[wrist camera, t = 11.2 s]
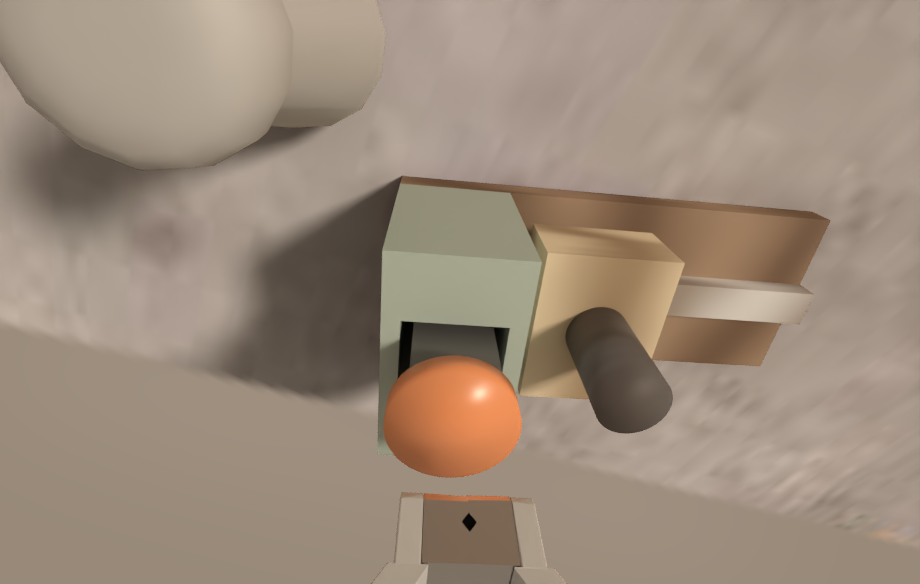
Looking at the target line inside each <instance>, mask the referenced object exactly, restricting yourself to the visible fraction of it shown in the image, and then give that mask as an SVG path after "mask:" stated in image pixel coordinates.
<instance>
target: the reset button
mask: <svg viewBox="0 0 920 584" xmlns="http://www.w3.org/2000/svg"><path fill="white" fill-rule="evenodd" d="M521 427H522V422H521V415H520V410H519V406H518V401H517V396H516V392H515V390H514V388H513V385H512V384H511V382H510V381H509V379H508V378H507V377H506V376H505V375H504V374H503V373H502V369H501V364H500V359H499V353H498V348H497V343H496V337H495V332H494V327H487V326H471V325H456V324H440V323H424V322H414V325H413V336H412V347H411V358H410V368H409V369H408V370H406V371H405V372H404V373H403V374H402V375H401V376H400V377H399V378H398V379H397V380H396V381H395V383H394V384H393V386H392V387H391V389H390V392H389V394H388V398H387V403H386V410H385V416H384V424H383V429H384V436H385V440H386V442H387V445H388V447H389V448H390V450H391V451H392V453H393V454H394V455H395V456H396V457H397V458H398V459H399V460H400V461H401V462H402V463H404V464H406V465H407V466H408V467H410V468H412V469H414V470H416V471H419V472H421V473H424V474H428V475H432V476H437V477H464V476H469V475H474V474H477V473H480V472H483V471H485V470H488V469H490V468H491V467H493V466H495V465H497V464H498V463H500V462H501V461H502V460H503V459H504V458H506V457H507V456H508V455H509V454H510V452H511V451H512V450H513V449H514V447H515V446H516V444H517V442H518V440H519V437H520V433H521Z"/></svg>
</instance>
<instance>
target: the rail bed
mask: <svg viewBox="0 0 920 584" xmlns="http://www.w3.org/2000/svg"><path fill="white" fill-rule="evenodd" d="M400 184H411V185H423V186H435V187H446V188H458V189H469V190H481V191H493V192H504V193H511V196H512V198H513V200H514V202H515V204H516V207H517V209H518V211H519V213H520V215H521V217H522V220H523V222H524V224H525V226H526V228H527V231H528V233H529V235H530V237H531V232H532V227H533V223H535V224H547V225H559V226H572V227H584V228H596V229H609V230H621V231H633V232H645V233H653V234H654V235H655V236H656V237H657V238H658V239H659V240H660V241H661V242H662V243H663V244H665V245H666V246H667V247H668V248H669V249H670V250H671V251H672V252H673V253H674V254H675V255H677V256H678V257H679V258H680V259H681V260H682V261H683V262H684V263H685V265H684V268H683V271H682V273H681V276H680V279H679V282H678V285H677V288H676V291H675V293H674V296H673V299H672V302H671V305H670V308H669V311H668V314H667V316H666V319H665V322H664V325H663V328H662V331H661V334H660V337H659V339H658V342H657V345H656V348H655V351H654V354H653V357H652V360H662V361H679V362H696V363H713V364H730V365H747V366H761V364H762V362H763V360H764V358H765V355H766V353H767V351H768V349H769V347H770V345H771V343H772V341H773V339H774V337H775V335H776V333H777V331H778V328H779V326H780V324H781V323H786V324H800V322H801V320H802V318H803V316H804V314H805V312H806V310H807V308H808V306H809V304H810V302H811V300H812V298H813V296H814V294H813V293H811V292H810V291H808V290H807V289H805V288H804V287H802V286H801V285H800V283H801V281H802V279H803V277H804V275H805V273H806V270H807V268H808V266H809V264H810V262H811V260H812V258H813V256H814V254H815V252H816V250H817V248H818V246H819V243H820V241H821V239H822V237H823V235H824V233H825V231H826V229H827V227H828V225H829V223H830V220H828V219H826V218H824V217H822V216H820V215H818V214H815V213H813V212H808V211H797V210H785V209H774V208H762V207H751V206H739V205H728V204H716V203H705V202H693V201H682V200H670V199H659V198H647V197H636V196H625V195H613V194H602V193H590V192H579V191H567V190H556V189H544V188H533V187H521V186H510V185H498V184H487V183H476V182H464V181H453V180H441V179H430V178H418V177H407V176H402V179H401V182H400Z"/></svg>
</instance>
